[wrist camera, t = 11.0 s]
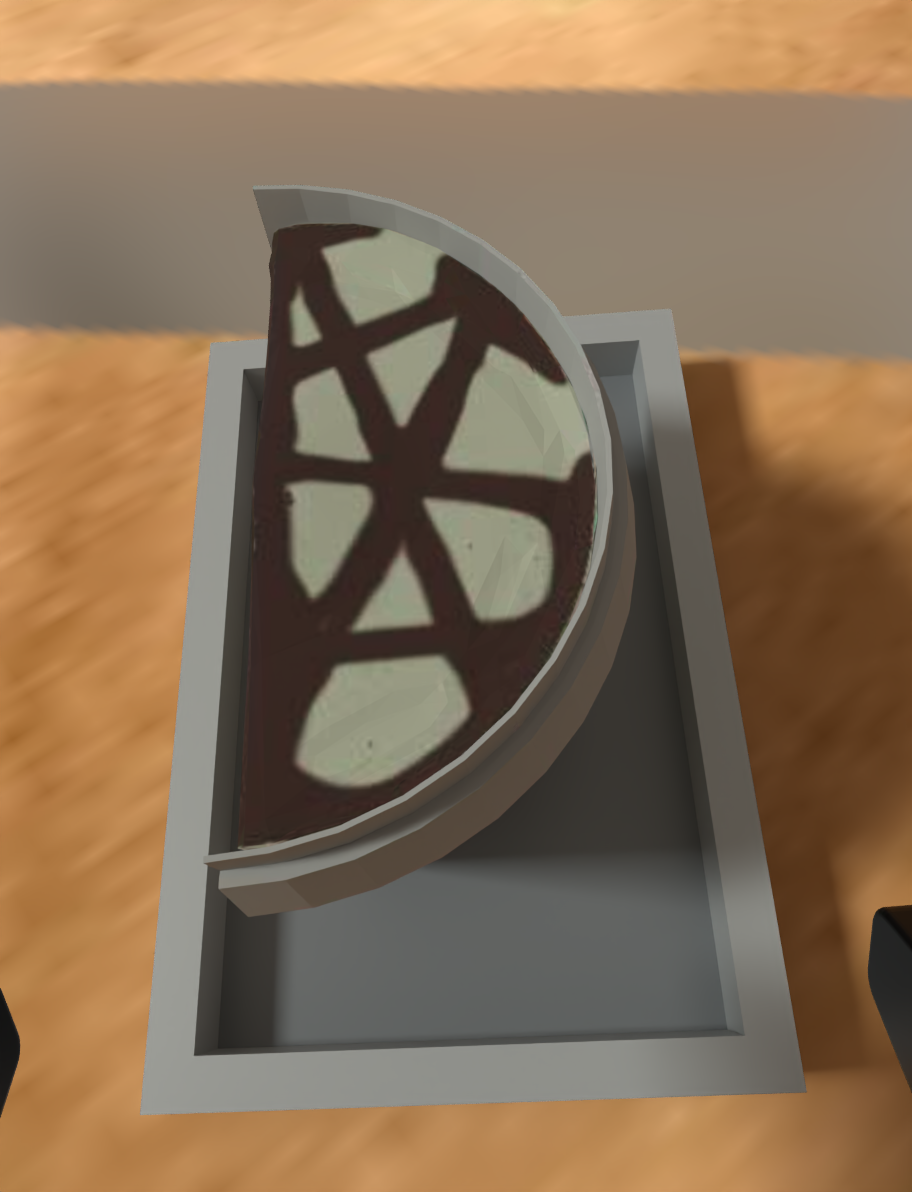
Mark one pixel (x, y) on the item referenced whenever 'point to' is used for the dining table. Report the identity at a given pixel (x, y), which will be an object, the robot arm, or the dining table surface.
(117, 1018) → the dining table surface
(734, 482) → the dining table surface
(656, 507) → the dock
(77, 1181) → the dining table surface
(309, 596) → the food container
